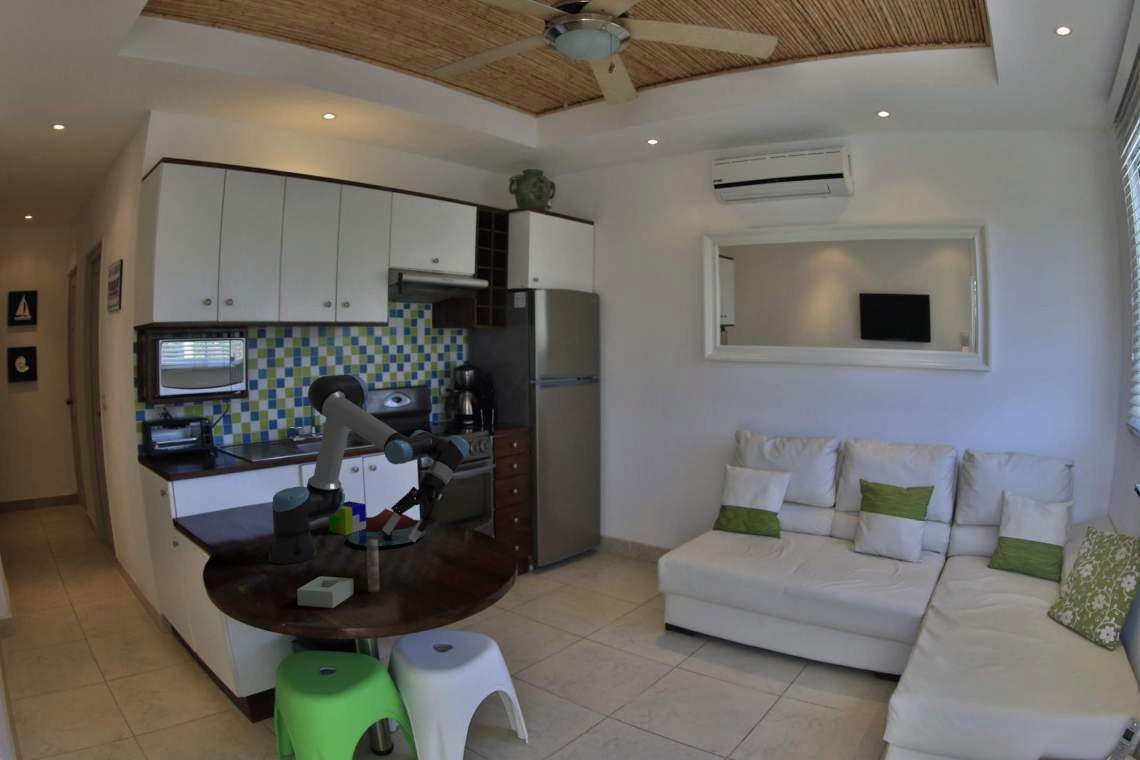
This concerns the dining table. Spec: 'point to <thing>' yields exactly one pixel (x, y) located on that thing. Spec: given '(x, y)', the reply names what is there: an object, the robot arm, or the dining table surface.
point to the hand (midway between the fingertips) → (398, 536)
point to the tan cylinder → (373, 565)
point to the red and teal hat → (376, 532)
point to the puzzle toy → (348, 518)
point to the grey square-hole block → (325, 592)
